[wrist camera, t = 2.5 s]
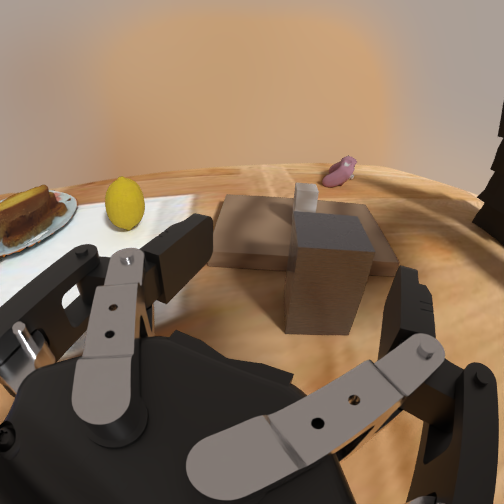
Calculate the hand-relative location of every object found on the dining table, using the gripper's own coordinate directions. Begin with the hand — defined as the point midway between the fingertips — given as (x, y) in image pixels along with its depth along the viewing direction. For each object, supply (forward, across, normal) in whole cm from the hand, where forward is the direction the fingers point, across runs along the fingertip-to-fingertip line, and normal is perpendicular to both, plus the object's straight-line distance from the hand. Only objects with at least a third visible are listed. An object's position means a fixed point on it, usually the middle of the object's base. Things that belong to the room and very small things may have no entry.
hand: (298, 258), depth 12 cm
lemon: (+16, +27, +14) cm, 35 cm away
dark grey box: (+12, 0, +13) cm, 18 cm away
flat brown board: (+25, +5, +13) cm, 29 cm away
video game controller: (+51, +4, +13) cm, 52 cm away
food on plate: (+8, +49, +14) cm, 52 cm away
